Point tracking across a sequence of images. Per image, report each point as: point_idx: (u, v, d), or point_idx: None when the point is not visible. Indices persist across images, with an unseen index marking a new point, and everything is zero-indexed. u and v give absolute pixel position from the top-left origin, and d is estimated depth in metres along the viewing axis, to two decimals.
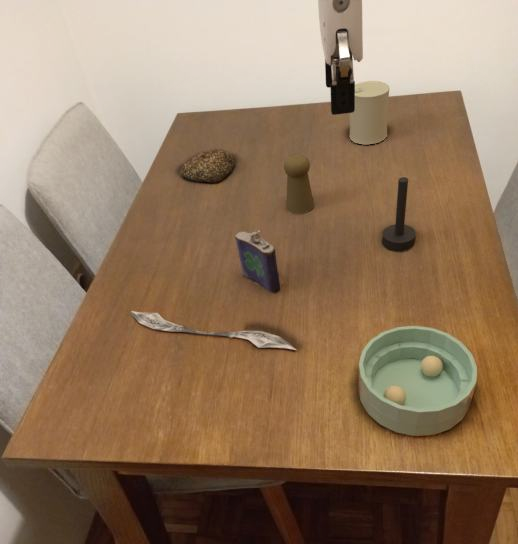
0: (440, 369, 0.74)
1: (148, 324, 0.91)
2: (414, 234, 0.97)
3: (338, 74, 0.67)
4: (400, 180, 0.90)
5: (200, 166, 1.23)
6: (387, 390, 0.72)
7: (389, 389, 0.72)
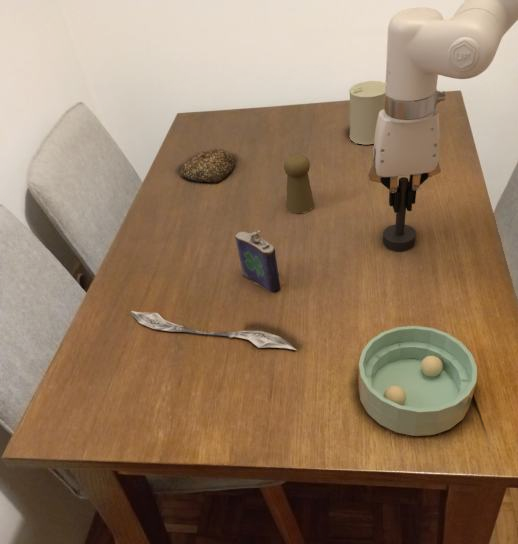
0: (440, 369, 0.74)
1: (148, 324, 0.91)
2: (414, 234, 0.97)
3: (427, 176, 0.89)
4: (400, 180, 0.90)
5: (200, 166, 1.23)
6: (387, 390, 0.72)
7: (389, 389, 0.72)
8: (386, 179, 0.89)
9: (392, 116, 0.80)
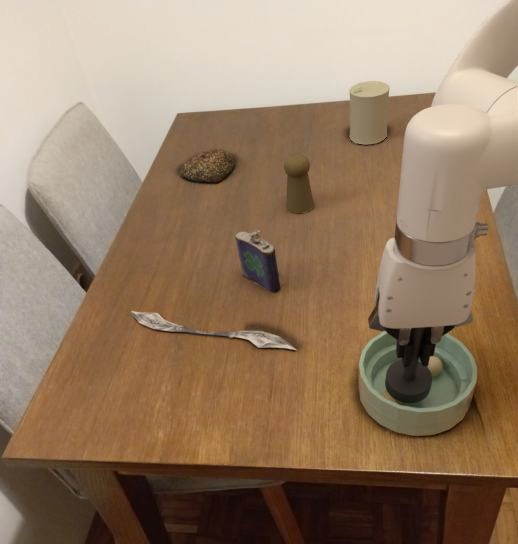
0: (440, 369, 0.74)
1: (148, 324, 0.91)
2: (430, 380, 0.69)
3: (452, 327, 0.61)
4: None
5: (200, 166, 1.23)
6: None
7: None
8: (394, 328, 0.62)
9: (406, 257, 0.53)
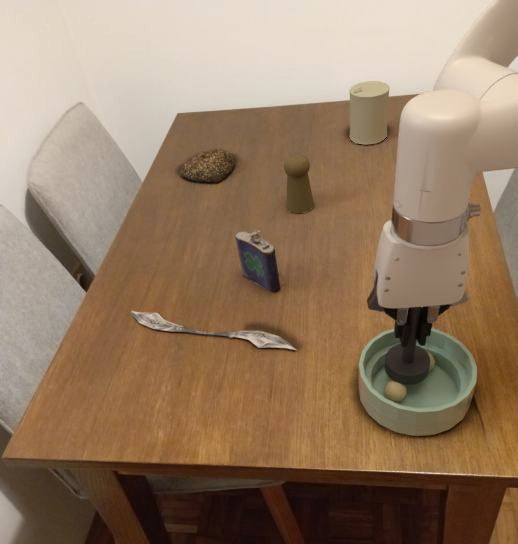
0: None
1: (148, 324, 0.91)
2: (427, 365, 0.71)
3: (448, 306, 0.64)
4: None
5: (200, 166, 1.23)
6: None
7: None
8: (391, 309, 0.64)
9: (403, 238, 0.55)
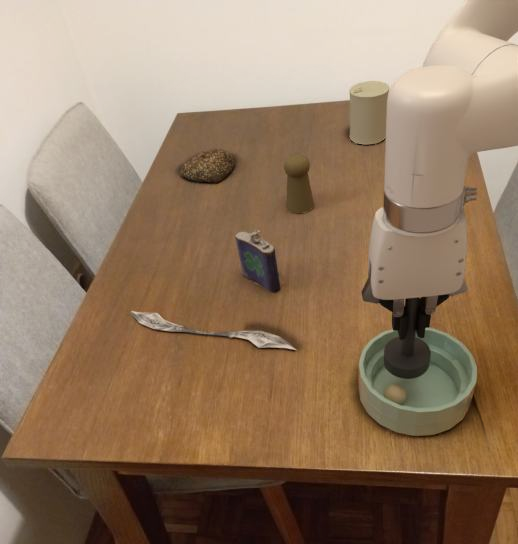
0: None
1: (148, 324, 0.91)
2: (427, 358, 0.68)
3: (447, 296, 0.61)
4: None
5: (200, 166, 1.23)
6: (390, 385, 0.73)
7: (392, 385, 0.72)
8: (387, 300, 0.61)
9: (395, 225, 0.52)
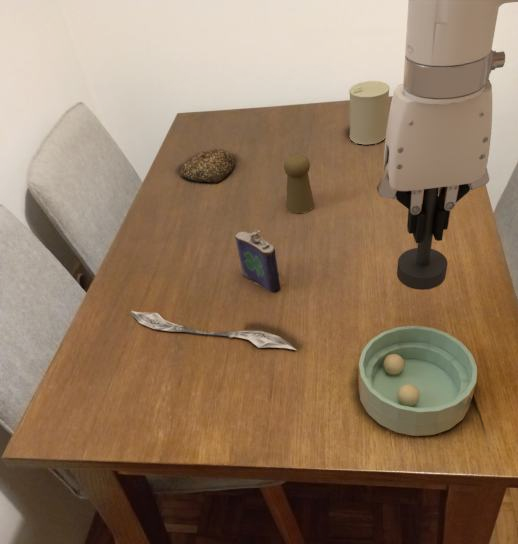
0: (389, 373, 0.77)
1: (148, 324, 0.91)
2: (444, 267, 0.65)
3: (467, 189, 0.58)
4: None
5: (200, 166, 1.23)
6: (414, 386, 0.72)
7: None
8: (405, 194, 0.58)
9: (418, 93, 0.49)
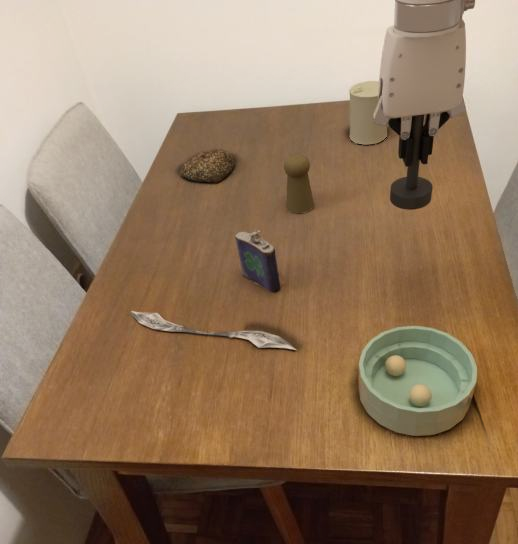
0: (390, 374, 0.76)
1: (148, 324, 0.91)
2: (430, 189, 0.77)
3: (448, 117, 0.69)
4: None
5: (200, 166, 1.23)
6: None
7: None
8: (396, 121, 0.70)
9: (405, 29, 0.60)
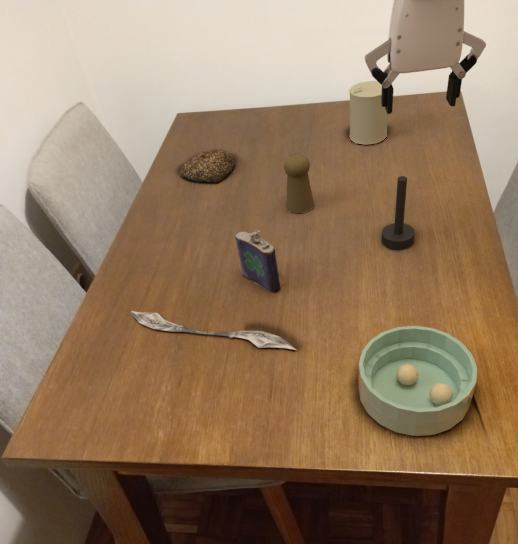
0: None
1: (148, 324, 0.91)
2: (412, 235, 0.97)
3: (475, 61, 0.78)
4: (399, 179, 0.90)
5: (200, 166, 1.23)
6: None
7: None
8: (378, 71, 0.79)
9: None
